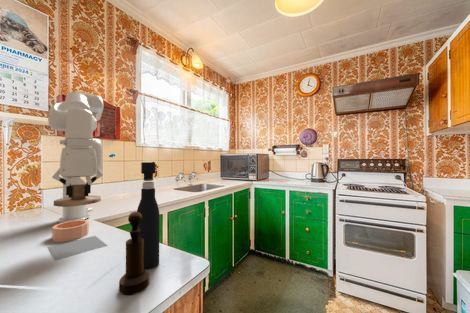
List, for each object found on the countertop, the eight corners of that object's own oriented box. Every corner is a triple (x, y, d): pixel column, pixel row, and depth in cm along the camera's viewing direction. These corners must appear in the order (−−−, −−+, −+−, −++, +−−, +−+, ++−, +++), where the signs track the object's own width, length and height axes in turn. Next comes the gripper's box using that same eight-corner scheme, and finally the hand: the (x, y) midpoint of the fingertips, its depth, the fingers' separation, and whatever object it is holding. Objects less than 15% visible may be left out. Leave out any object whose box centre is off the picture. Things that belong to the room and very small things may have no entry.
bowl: (70, 231, 86) (70, 219, 86) (94, 232, 85) (95, 220, 85) (44, 242, 75) (44, 228, 75) (71, 243, 74) (72, 229, 74)
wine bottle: (163, 264, 59) (164, 162, 60) (140, 273, 55) (142, 162, 55) (153, 257, 64) (154, 162, 64) (131, 264, 59) (132, 162, 60)
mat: (47, 248, 70) (47, 247, 70) (95, 236, 80) (95, 235, 80) (54, 262, 61) (54, 260, 61) (107, 246, 71) (107, 245, 71)
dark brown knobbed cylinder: (126, 278, 52) (127, 209, 52) (152, 277, 53) (153, 208, 53) (113, 296, 45) (114, 216, 46) (143, 294, 46) (144, 215, 46)
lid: (76, 198, 78) (77, 182, 78) (108, 199, 77) (109, 182, 77) (42, 206, 65) (42, 186, 65) (80, 207, 64) (80, 187, 64)
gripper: (46, 142, 63) (45, 201, 63) (108, 145, 74) (108, 195, 73) (47, 143, 68) (46, 197, 68) (105, 146, 79) (104, 192, 79)
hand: (78, 195), depth 71 cm, fingers closed on lid, 4 cm apart
